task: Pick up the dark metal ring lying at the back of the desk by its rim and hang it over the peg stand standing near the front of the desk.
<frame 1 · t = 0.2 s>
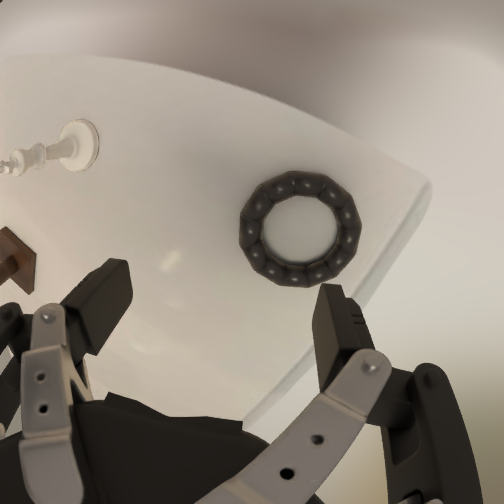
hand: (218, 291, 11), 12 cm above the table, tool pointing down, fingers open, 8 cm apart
chess piece: (80, 145, 20), on the table
peg stand: (18, 259, 27), on the table
ring: (301, 233, 21), point 1 cm above the table
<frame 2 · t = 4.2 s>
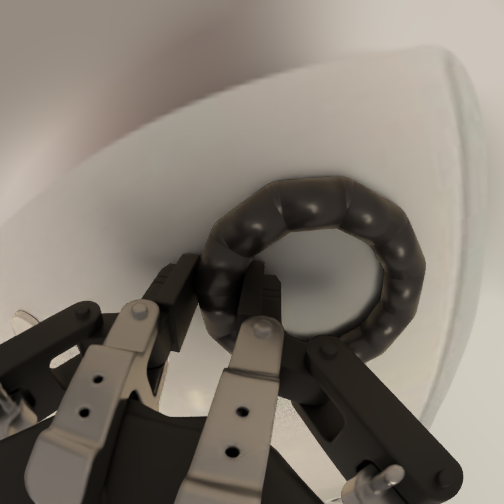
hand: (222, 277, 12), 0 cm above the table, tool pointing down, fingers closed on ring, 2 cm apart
chess piece: (36, 333, 16), on the table
ring: (315, 297, 11), point 1 cm above the table, touching gripper
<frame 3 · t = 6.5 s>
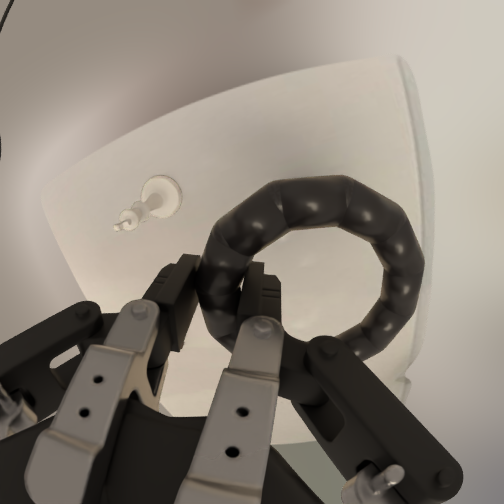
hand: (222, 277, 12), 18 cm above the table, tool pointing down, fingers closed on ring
chess piece: (162, 196, 30), on the table
ring: (315, 295, 11), point 19 cm above the table, touching gripper
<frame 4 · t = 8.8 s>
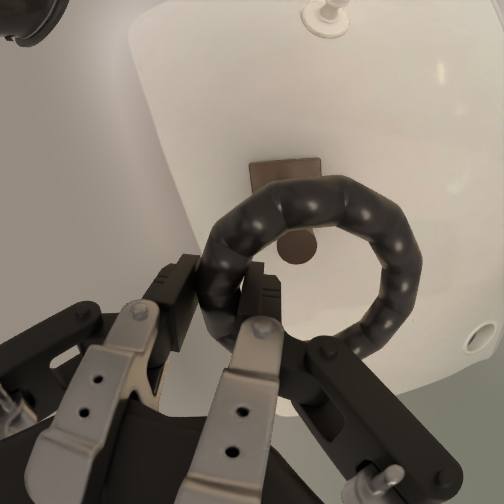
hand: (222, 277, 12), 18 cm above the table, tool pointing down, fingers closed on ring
chess piece: (325, 19, 19), on the table
peg stand: (287, 192, 28), on the table
ring: (314, 294, 11), point 19 cm above the table, touching gripper
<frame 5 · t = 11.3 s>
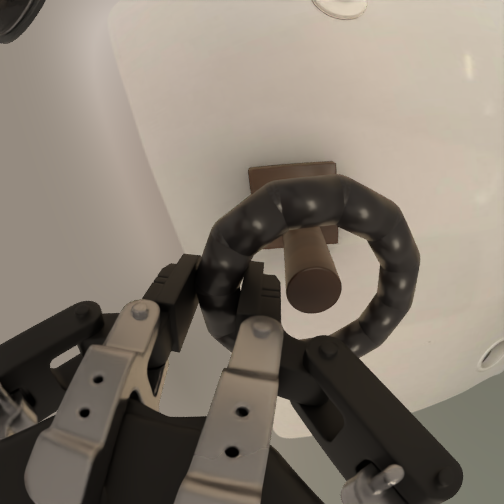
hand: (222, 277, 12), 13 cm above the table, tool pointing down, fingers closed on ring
peg stand: (294, 203, 23), on the table
ring: (313, 293, 11), point 13 cm above the table, touching gripper
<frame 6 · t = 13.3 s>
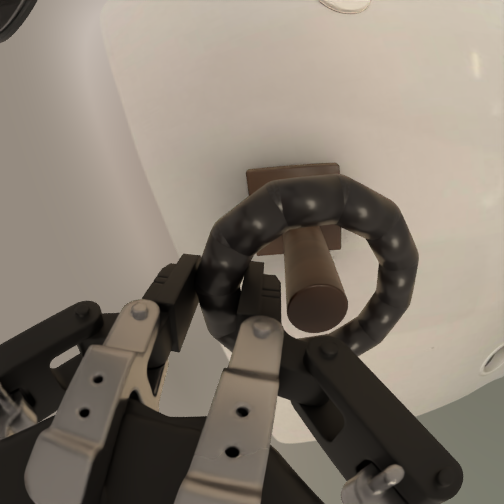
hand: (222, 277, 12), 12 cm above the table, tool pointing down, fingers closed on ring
peg stand: (295, 207, 22), on the table
ring: (313, 291, 11), point 12 cm above the table, touching gripper
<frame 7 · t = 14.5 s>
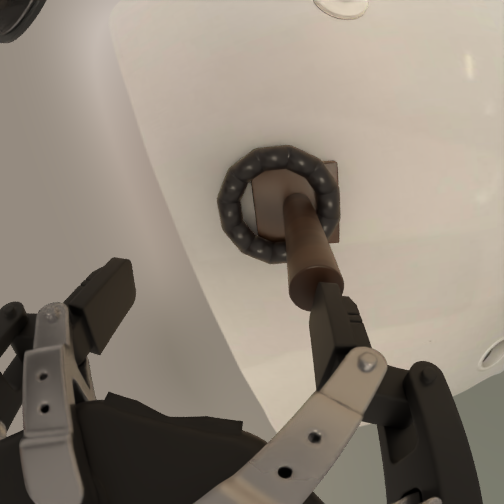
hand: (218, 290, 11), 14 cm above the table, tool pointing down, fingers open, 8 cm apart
peg stand: (296, 203, 23), on the table
ring: (279, 207, 21), point 2 cm above the table, touching peg stand
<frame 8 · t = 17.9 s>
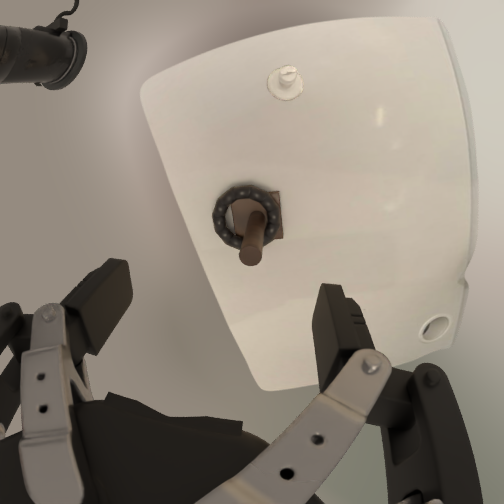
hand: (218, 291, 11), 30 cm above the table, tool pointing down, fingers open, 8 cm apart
chess piece: (285, 84, 32), on the table
peg stand: (257, 215, 41), on the table
ring: (246, 219, 39), point 2 cm above the table, touching peg stand
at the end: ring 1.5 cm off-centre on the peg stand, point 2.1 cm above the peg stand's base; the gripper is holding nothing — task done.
